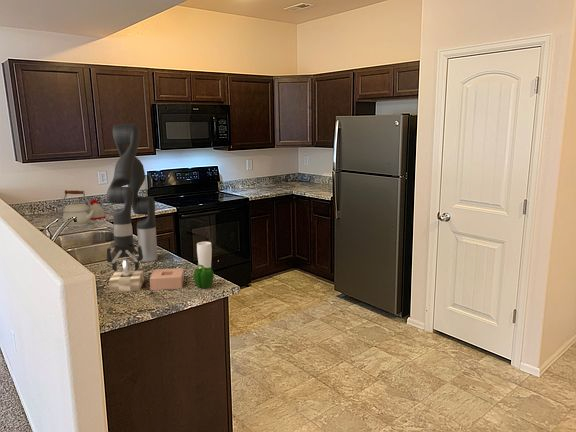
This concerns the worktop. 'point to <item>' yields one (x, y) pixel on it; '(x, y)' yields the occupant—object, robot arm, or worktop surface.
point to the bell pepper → (203, 277)
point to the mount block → (126, 281)
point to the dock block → (167, 279)
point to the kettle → (77, 211)
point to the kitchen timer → (96, 210)
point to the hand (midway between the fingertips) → (126, 270)
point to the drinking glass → (204, 254)
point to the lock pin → (126, 268)
